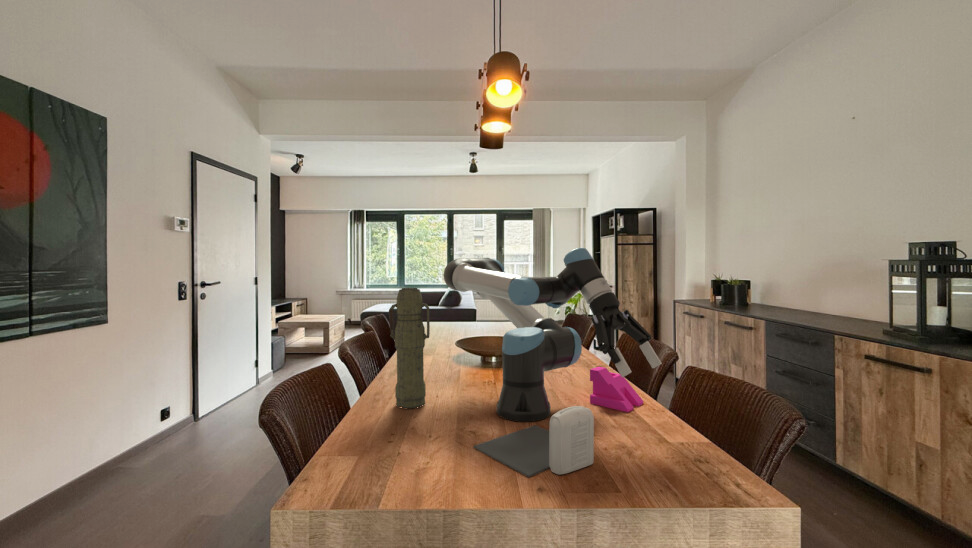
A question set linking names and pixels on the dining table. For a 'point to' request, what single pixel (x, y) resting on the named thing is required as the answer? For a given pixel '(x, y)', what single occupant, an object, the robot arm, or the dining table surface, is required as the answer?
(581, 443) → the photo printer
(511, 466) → the mat
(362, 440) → the dining table surface
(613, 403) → the bracket
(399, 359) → the thermos
